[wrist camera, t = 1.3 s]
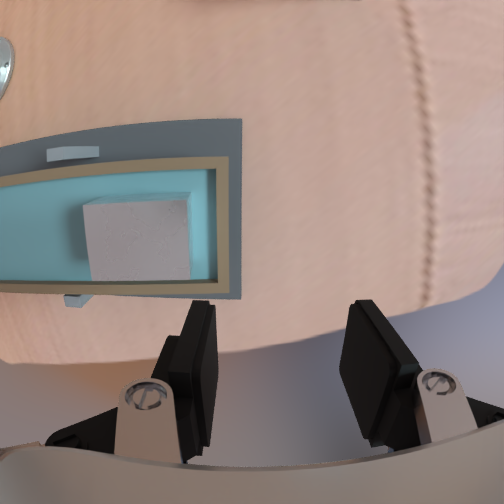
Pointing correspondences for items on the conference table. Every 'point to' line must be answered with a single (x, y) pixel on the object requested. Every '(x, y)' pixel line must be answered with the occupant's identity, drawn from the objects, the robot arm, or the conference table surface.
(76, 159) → the stand
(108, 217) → the steel block
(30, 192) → the beam
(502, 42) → the conference table surface
